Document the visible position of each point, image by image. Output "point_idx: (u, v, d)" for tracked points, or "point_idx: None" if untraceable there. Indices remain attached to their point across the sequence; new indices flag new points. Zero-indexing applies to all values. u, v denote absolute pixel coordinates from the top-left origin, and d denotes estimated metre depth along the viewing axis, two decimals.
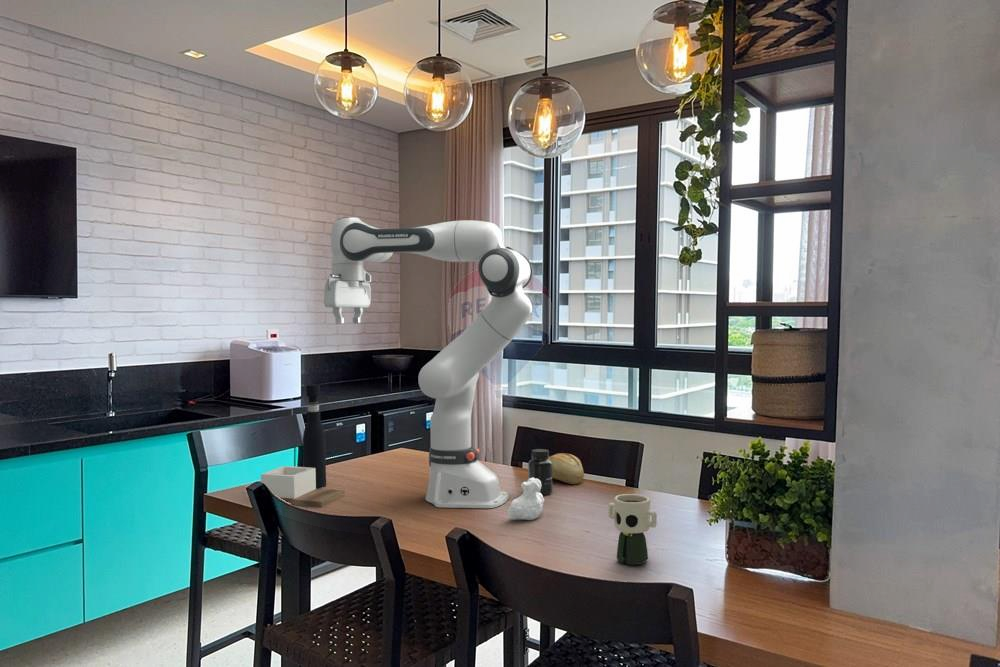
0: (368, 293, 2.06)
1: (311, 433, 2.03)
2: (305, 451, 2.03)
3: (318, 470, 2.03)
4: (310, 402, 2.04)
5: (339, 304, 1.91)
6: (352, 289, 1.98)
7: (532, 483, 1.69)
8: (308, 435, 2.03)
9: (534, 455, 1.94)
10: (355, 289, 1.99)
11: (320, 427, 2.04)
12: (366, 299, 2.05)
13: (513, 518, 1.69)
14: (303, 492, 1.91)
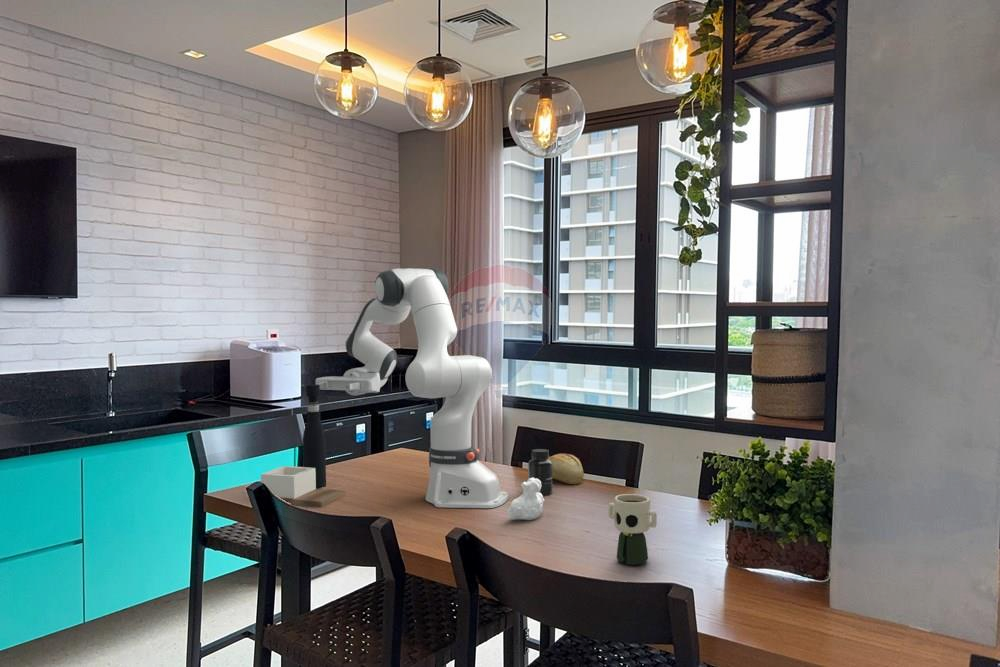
0: (371, 377, 2.22)
1: (311, 433, 2.03)
2: (305, 451, 2.03)
3: (318, 470, 2.03)
4: (310, 402, 2.04)
5: (321, 378, 2.24)
6: (349, 378, 2.26)
7: (532, 483, 1.69)
8: (308, 435, 2.03)
9: (534, 455, 1.94)
10: (354, 378, 2.25)
11: (320, 427, 2.04)
12: None
13: (513, 518, 1.69)
14: (303, 492, 1.91)
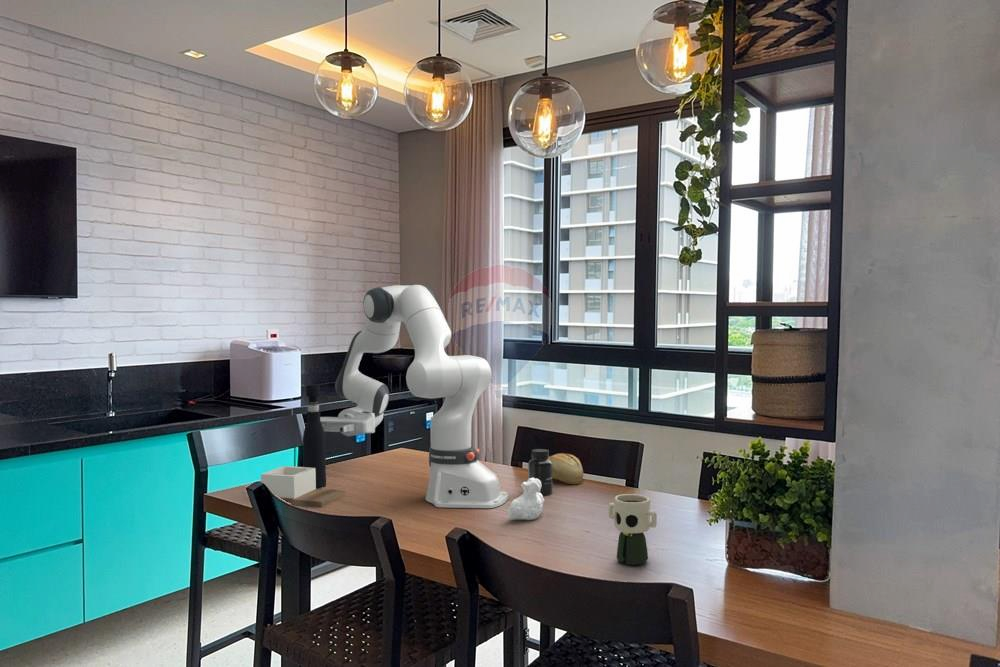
0: (366, 418, 2.19)
1: (311, 433, 2.03)
2: (305, 451, 2.03)
3: (318, 470, 2.03)
4: (310, 402, 2.04)
5: None
6: (344, 419, 2.22)
7: (532, 483, 1.69)
8: (308, 435, 2.03)
9: (534, 455, 1.94)
10: (349, 419, 2.21)
11: (320, 427, 2.04)
12: (362, 420, 2.17)
13: (513, 518, 1.69)
14: (303, 492, 1.91)
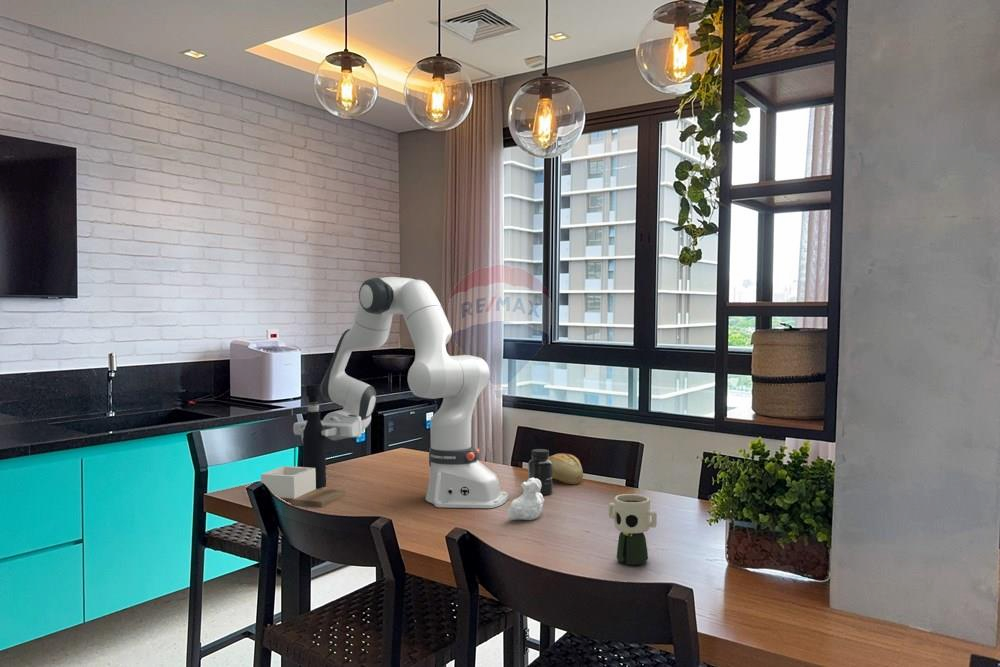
0: (352, 422, 2.10)
1: (311, 433, 2.03)
2: (305, 451, 2.03)
3: (318, 470, 2.03)
4: (310, 402, 2.04)
5: (300, 423, 2.12)
6: (329, 422, 2.14)
7: (532, 483, 1.69)
8: (308, 435, 2.03)
9: (534, 455, 1.94)
10: (334, 422, 2.13)
11: (320, 427, 2.04)
12: (347, 424, 2.09)
13: (513, 518, 1.69)
14: (303, 492, 1.91)
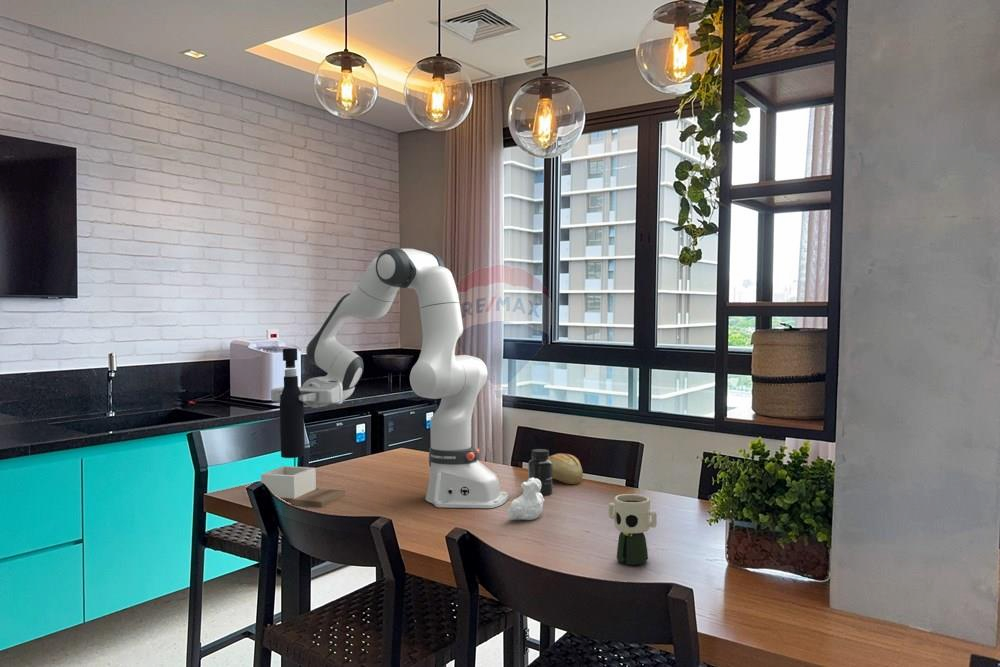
0: (332, 387, 2.00)
1: (288, 399, 1.92)
2: (282, 418, 1.92)
3: (295, 437, 1.92)
4: (287, 366, 1.93)
5: (277, 389, 2.01)
6: (309, 388, 2.03)
7: (532, 483, 1.69)
8: (285, 401, 1.92)
9: (534, 455, 1.94)
10: (314, 388, 2.03)
11: (298, 393, 1.94)
12: (327, 389, 1.98)
13: (513, 518, 1.69)
14: (303, 492, 1.91)
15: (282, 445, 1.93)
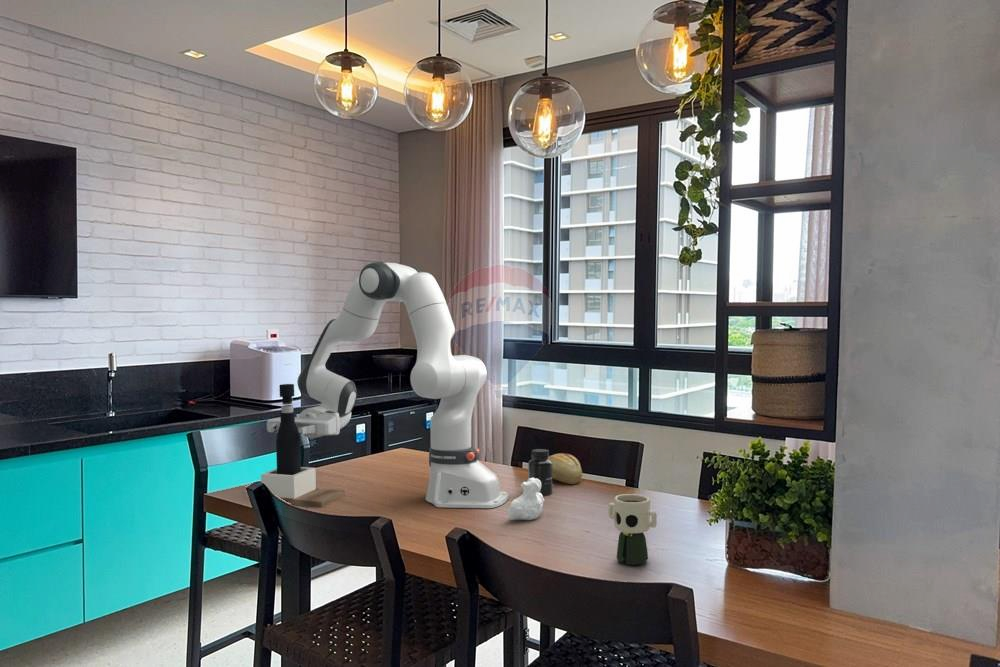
0: (329, 419, 1.98)
1: (285, 436, 1.90)
2: (278, 455, 1.91)
3: None
4: (284, 403, 1.92)
5: (273, 420, 2.00)
6: (305, 419, 2.01)
7: (532, 483, 1.69)
8: (281, 438, 1.90)
9: (534, 455, 1.94)
10: (310, 419, 2.01)
11: (295, 429, 1.92)
12: (324, 420, 1.97)
13: (513, 518, 1.69)
14: (303, 492, 1.91)
15: None
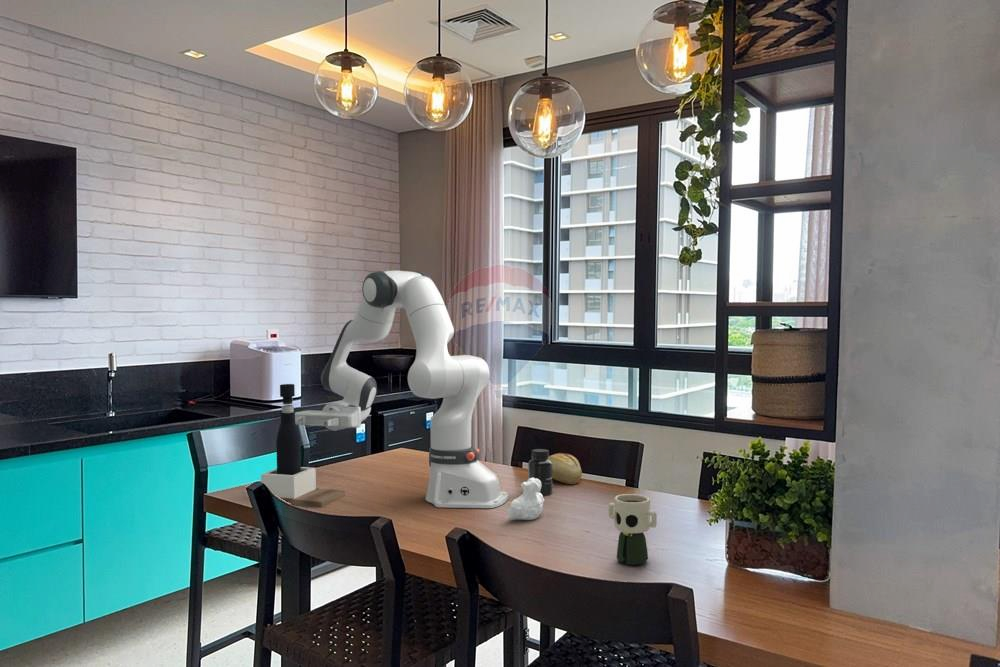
0: (352, 412, 2.10)
1: (285, 436, 1.90)
2: (279, 455, 1.91)
3: None
4: (284, 403, 1.92)
5: (299, 413, 2.12)
6: (329, 412, 2.14)
7: (532, 483, 1.69)
8: (282, 438, 1.90)
9: (534, 455, 1.94)
10: (334, 412, 2.13)
11: (295, 429, 1.92)
12: (347, 414, 2.09)
13: (513, 518, 1.69)
14: (303, 492, 1.91)
15: None
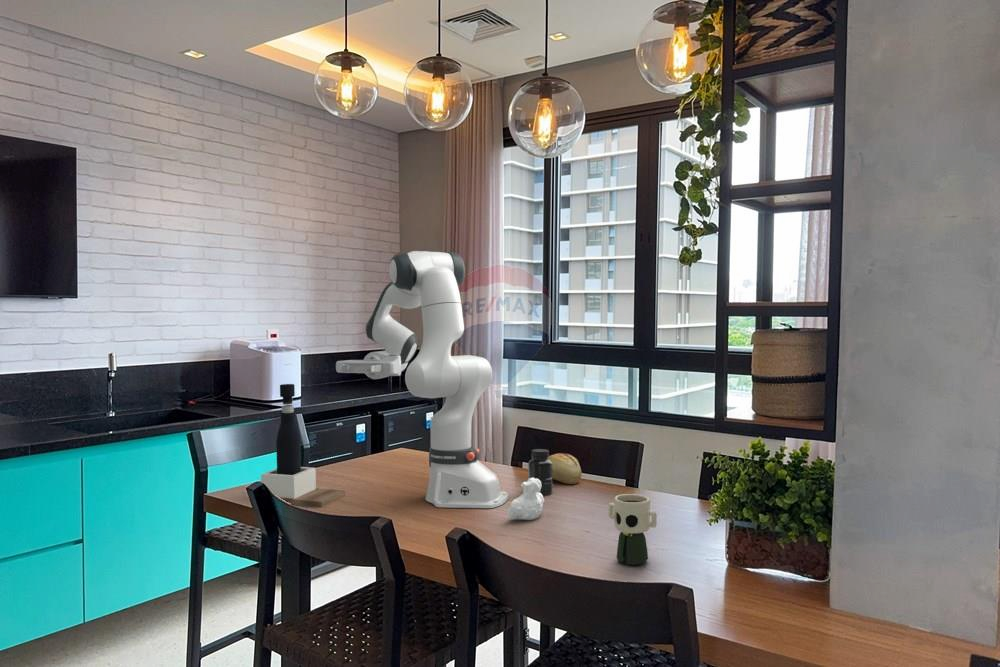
0: (393, 360, 2.19)
1: (285, 436, 1.90)
2: (279, 455, 1.91)
3: None
4: (284, 403, 1.92)
5: (342, 361, 2.20)
6: (370, 361, 2.22)
7: (532, 483, 1.69)
8: (282, 438, 1.90)
9: (534, 455, 1.94)
10: (375, 361, 2.22)
11: (295, 429, 1.92)
12: (389, 361, 2.17)
13: (513, 518, 1.69)
14: (303, 492, 1.91)
15: None
